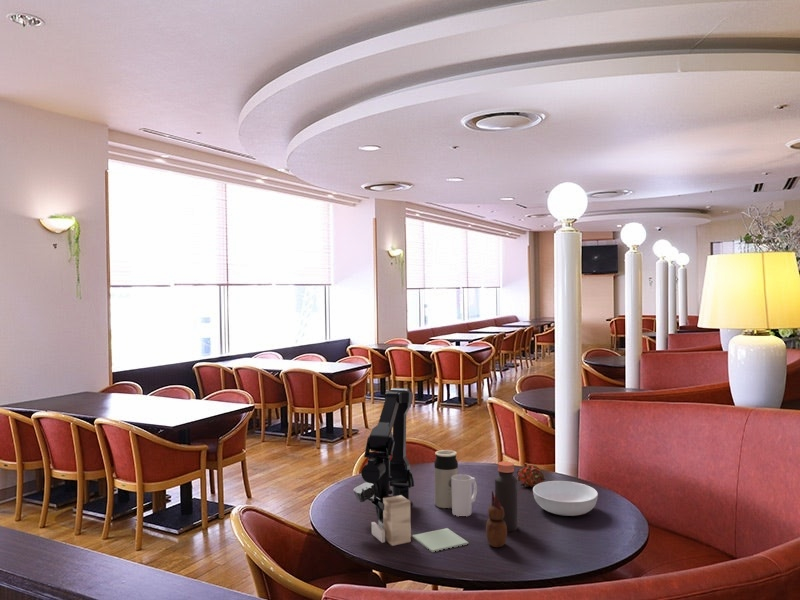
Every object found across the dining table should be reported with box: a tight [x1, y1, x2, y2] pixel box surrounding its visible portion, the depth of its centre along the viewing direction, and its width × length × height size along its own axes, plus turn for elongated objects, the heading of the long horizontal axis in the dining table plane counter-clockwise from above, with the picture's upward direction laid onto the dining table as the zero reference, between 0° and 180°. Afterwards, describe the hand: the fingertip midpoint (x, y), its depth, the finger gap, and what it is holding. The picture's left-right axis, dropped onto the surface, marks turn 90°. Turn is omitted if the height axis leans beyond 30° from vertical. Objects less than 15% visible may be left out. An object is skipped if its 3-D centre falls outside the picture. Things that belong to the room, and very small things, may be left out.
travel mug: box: [433, 449, 459, 509], centre depth 213 cm, size 8×8×18 cm
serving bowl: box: [532, 480, 599, 517], centre depth 206 cm, size 21×21×7 cm
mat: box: [411, 527, 469, 553], centre depth 183 cm, size 12×12×1 cm
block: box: [383, 495, 412, 547], centre depth 184 cm, size 6×6×12 cm
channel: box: [371, 521, 386, 544], centre depth 187 cm, size 8×10×4 cm
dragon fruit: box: [516, 464, 546, 489], centre depth 232 cm, size 8×8×12 cm
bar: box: [377, 519, 383, 528], centre depth 189 cm, size 7×3×3 cm, turn 27°
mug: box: [451, 473, 478, 517], centre depth 206 cm, size 10×7×12 cm, turn 125°
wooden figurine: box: [485, 491, 508, 548], centre depth 180 cm, size 7×6×15 cm
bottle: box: [494, 460, 518, 533], centre depth 192 cm, size 7×7×20 cm
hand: (381, 523), depth 194 cm, fingers closed
